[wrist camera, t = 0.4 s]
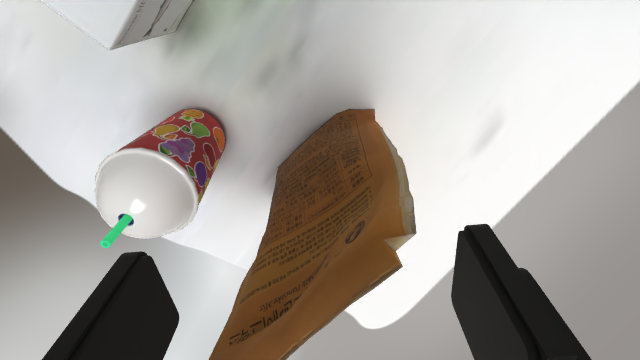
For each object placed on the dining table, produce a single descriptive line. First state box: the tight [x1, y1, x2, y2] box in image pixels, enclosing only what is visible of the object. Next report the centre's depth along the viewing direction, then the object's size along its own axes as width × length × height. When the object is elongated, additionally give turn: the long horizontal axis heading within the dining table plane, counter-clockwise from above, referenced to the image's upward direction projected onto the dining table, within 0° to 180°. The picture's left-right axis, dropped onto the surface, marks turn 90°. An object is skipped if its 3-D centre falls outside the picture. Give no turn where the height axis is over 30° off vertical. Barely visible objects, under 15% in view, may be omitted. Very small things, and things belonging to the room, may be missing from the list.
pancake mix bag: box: [209, 109, 416, 360], centre depth 29 cm, size 7×19×28 cm, turn 135°
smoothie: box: [95, 109, 226, 248], centre depth 32 cm, size 8×8×20 cm
